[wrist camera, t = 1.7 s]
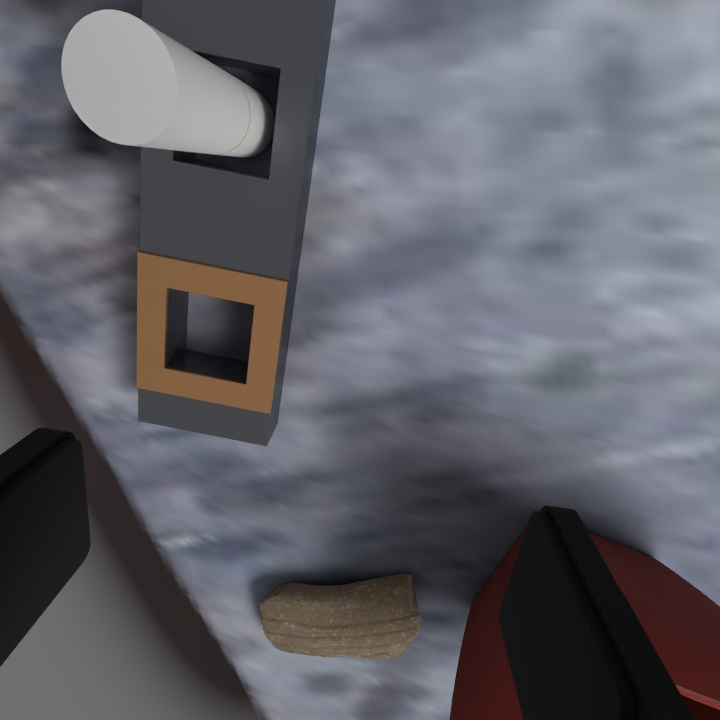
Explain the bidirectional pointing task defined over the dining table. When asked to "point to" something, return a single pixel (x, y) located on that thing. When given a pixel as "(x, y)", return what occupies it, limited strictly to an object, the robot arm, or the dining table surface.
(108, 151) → the dining table surface
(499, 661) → the plant pot
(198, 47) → the rack
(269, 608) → the decorative stone
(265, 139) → the tube
